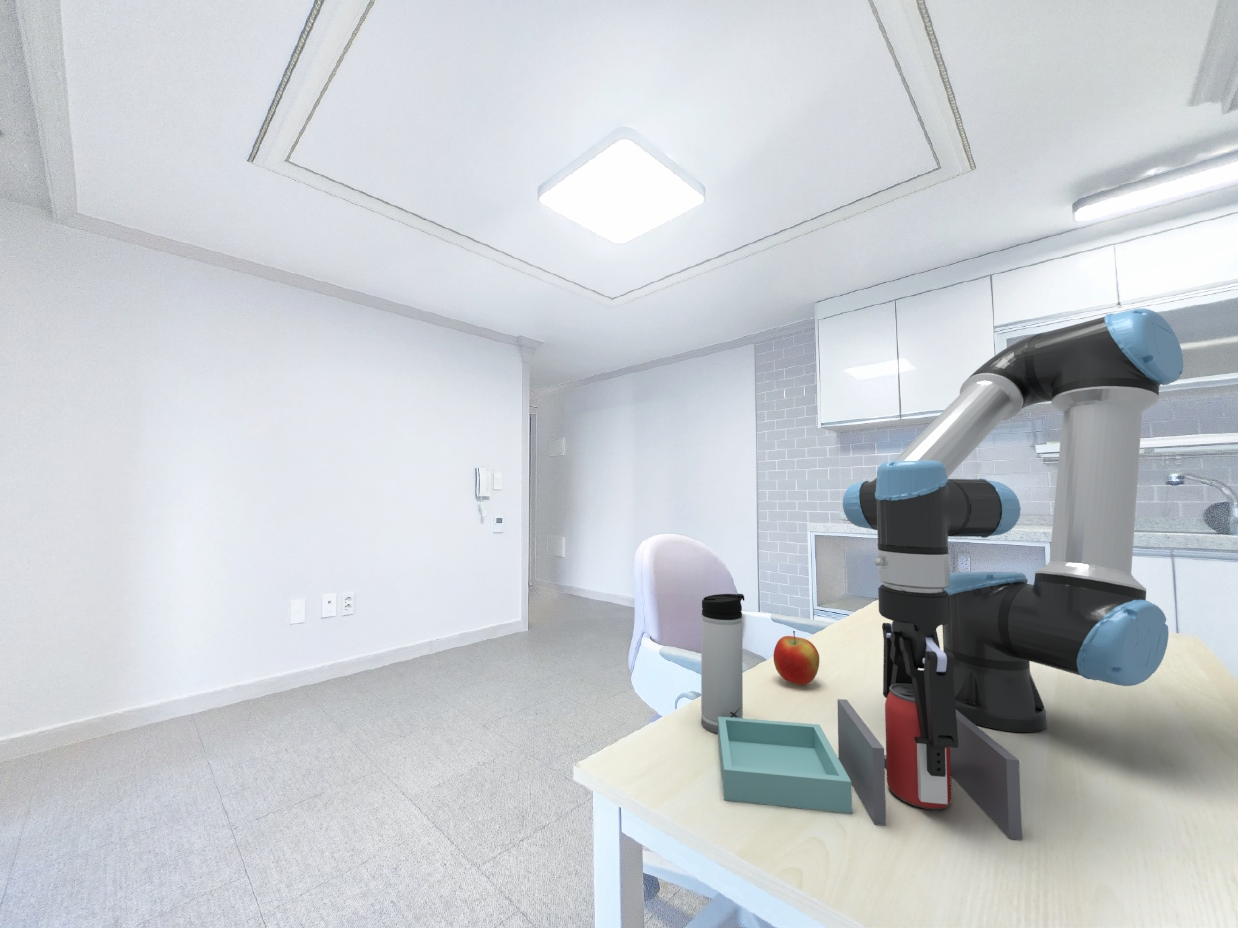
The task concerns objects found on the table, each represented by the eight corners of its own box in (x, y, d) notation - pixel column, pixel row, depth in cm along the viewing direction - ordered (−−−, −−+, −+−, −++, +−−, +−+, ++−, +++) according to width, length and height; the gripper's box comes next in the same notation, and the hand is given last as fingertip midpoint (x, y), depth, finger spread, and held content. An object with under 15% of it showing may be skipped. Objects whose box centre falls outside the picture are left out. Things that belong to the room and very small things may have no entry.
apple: (827, 684, 92) (827, 631, 93) (805, 695, 87) (805, 638, 87) (789, 672, 98) (788, 622, 99) (766, 682, 93) (765, 628, 94)
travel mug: (746, 737, 71) (745, 599, 73) (700, 732, 73) (700, 596, 74) (743, 718, 77) (743, 591, 79) (701, 714, 79) (702, 589, 80)
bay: (955, 770, 63) (953, 707, 64) (1022, 839, 50) (1018, 759, 51) (838, 760, 65) (837, 698, 66) (874, 824, 53) (872, 747, 53)
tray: (819, 749, 68) (819, 724, 68) (851, 813, 54) (851, 781, 55) (717, 740, 70) (718, 716, 70) (724, 799, 56) (724, 769, 57)
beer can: (875, 779, 61) (873, 681, 62) (924, 778, 61) (922, 680, 62) (911, 813, 54) (908, 703, 55) (966, 811, 55) (962, 702, 56)
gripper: (854, 573, 70) (857, 739, 68) (915, 601, 51) (922, 834, 49) (910, 575, 69) (915, 744, 67) (995, 605, 49) (1004, 843, 48)
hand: (917, 781), depth 58 cm, fingers closed on beer can, 6 cm apart
